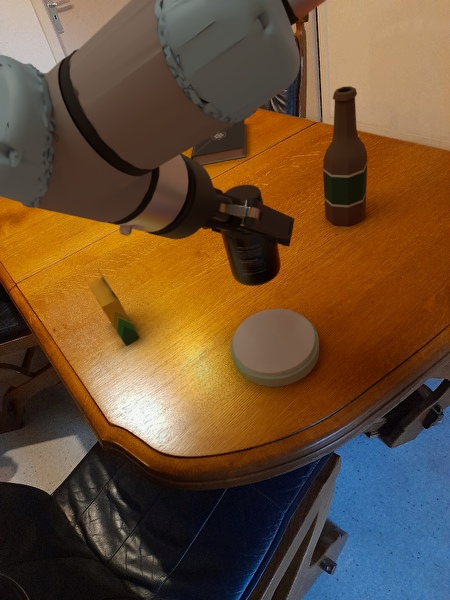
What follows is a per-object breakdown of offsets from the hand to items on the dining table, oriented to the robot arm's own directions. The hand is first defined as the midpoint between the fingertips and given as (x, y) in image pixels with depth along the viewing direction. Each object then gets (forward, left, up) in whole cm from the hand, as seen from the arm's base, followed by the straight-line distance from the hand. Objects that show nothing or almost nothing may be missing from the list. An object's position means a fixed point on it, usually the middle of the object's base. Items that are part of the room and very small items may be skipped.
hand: (263, 232), depth 55 cm
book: (+32, -63, -16) cm, 72 cm away
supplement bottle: (+1, +3, -4) cm, 6 cm away
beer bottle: (-7, -28, -16) cm, 33 cm away
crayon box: (+26, +7, -17) cm, 31 cm away
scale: (-1, +7, -16) cm, 18 cm away
